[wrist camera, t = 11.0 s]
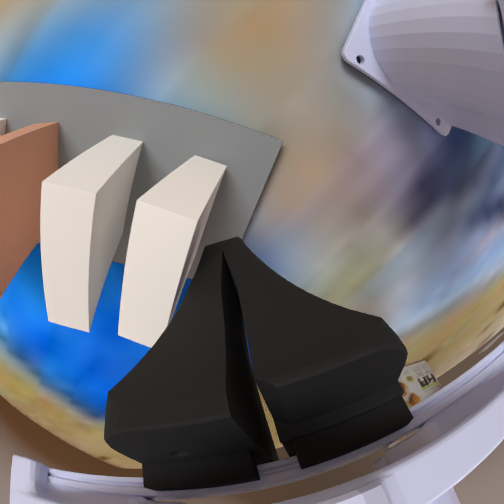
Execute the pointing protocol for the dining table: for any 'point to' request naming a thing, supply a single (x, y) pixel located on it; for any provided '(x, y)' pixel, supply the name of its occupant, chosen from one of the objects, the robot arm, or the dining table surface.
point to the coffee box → (417, 385)
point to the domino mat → (151, 146)
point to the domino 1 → (23, 192)
